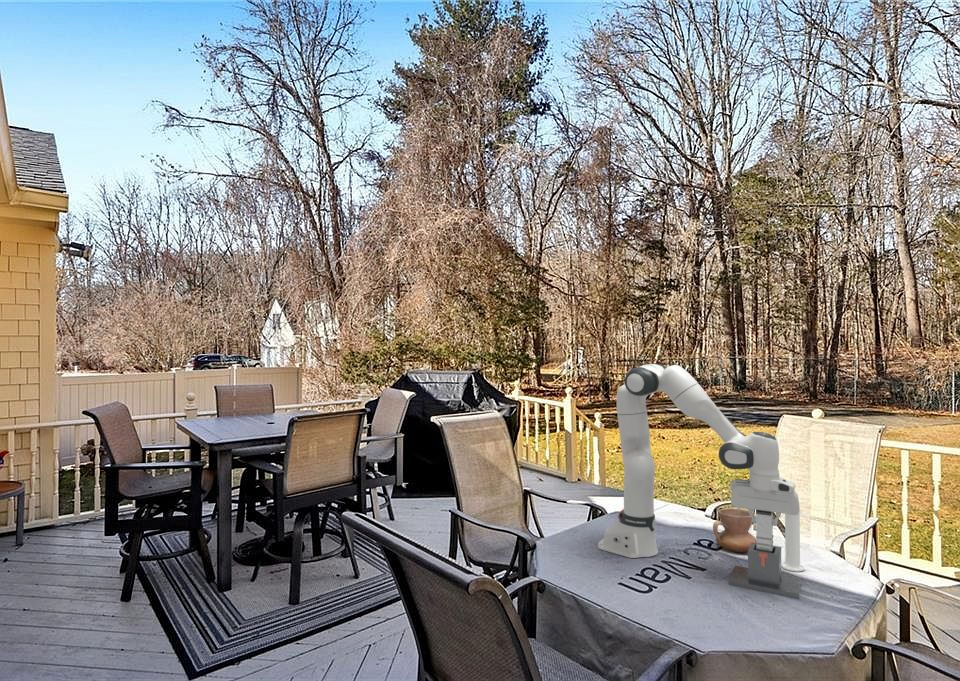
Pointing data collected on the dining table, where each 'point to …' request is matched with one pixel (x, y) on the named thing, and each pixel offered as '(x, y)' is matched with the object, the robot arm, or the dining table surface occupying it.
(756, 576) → the stand housing
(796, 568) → the candle
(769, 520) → the column
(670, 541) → the dining table surface
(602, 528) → the dining table surface
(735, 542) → the ceramic jug
